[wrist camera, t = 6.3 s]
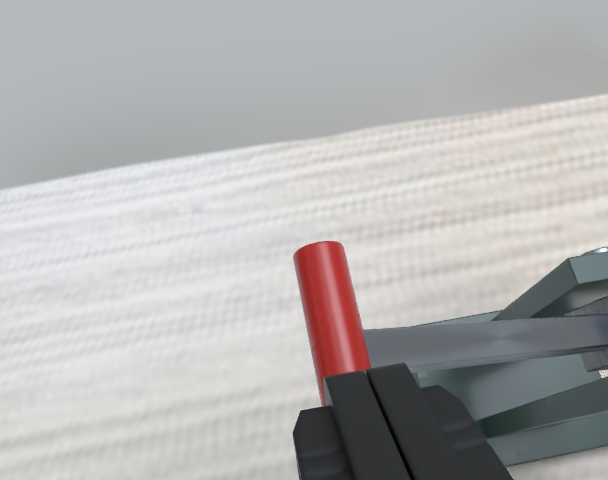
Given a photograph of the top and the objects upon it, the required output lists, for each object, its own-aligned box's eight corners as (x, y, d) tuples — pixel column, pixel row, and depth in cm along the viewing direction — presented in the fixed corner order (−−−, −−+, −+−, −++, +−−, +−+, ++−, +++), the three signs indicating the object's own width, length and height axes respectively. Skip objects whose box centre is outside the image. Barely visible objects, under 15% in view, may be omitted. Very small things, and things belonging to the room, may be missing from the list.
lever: (318, 490, 14) (367, 482, 12) (277, 267, 16) (314, 231, 14) (655, 417, 21) (722, 404, 19) (592, 266, 23) (646, 240, 21)
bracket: (437, 479, 30) (559, 476, 16) (399, 332, 33) (476, 231, 19) (614, 442, 30) (861, 412, 17) (561, 303, 34) (737, 188, 20)
